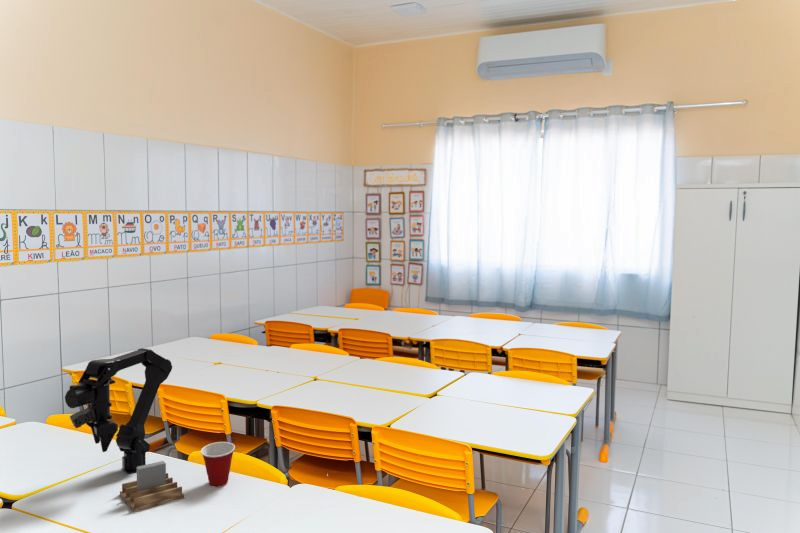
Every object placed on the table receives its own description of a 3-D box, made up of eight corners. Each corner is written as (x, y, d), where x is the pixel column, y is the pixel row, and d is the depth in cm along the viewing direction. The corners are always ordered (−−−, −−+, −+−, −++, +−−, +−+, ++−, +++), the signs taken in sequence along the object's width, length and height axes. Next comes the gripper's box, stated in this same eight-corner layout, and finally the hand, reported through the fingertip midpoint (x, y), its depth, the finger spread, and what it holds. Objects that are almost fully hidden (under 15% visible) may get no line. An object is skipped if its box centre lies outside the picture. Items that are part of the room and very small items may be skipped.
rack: (168, 482, 203) (168, 472, 203) (184, 498, 192) (184, 487, 192) (120, 494, 194) (119, 483, 193) (133, 511, 183) (133, 500, 183)
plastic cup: (193, 487, 200) (193, 450, 199) (215, 474, 210) (215, 439, 209) (221, 493, 196) (220, 456, 195) (242, 480, 206) (242, 444, 205)
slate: (163, 488, 196) (163, 460, 196) (166, 491, 194) (165, 463, 194) (137, 495, 191) (136, 466, 191) (139, 498, 189) (138, 469, 189)
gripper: (65, 397, 202) (66, 444, 203) (78, 411, 187) (79, 462, 188) (102, 391, 209) (103, 437, 210) (118, 405, 194) (118, 454, 195)
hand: (100, 447), depth 201 cm, fingers open, 9 cm apart
